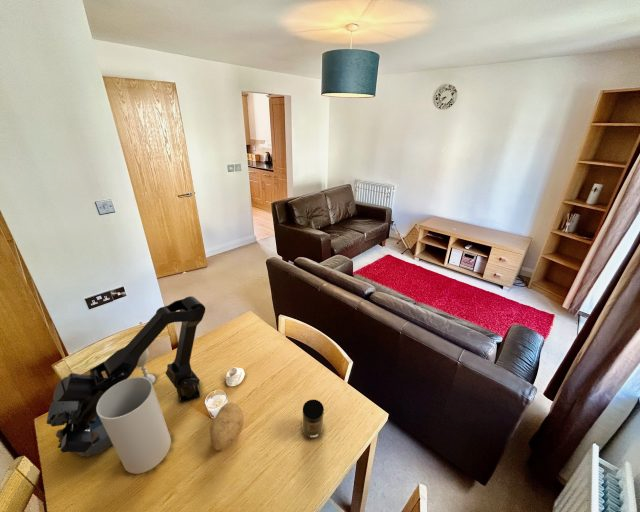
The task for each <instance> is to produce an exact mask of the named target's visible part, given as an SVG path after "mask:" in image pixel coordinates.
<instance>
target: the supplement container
mask: <svg viewBox="0 0 640 512" xmlns="http://www.w3.org/2000/svg"><path fill="white" fill-rule="evenodd" d="M324 411H325V408H324V404H323V403H322V402H321V401H320V400H318V399H309V400H307V401H305V402H304V404H303V406H302V432H303V434H304V435H305V437H306V438H307V439H311V440H314V439H315V440H316V439H318V438H319V437H320V436H321V435H322V433H323V428H324V414H325V412H324Z"/></svg>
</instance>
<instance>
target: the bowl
mask: <svg viewBox="0 0 640 512" xmlns="http://www.w3.org/2000/svg"><path fill="white" fill-rule="evenodd" d="M89 425H90V431H95V432H97V433H98V435H99V439H98V441H97V442H96V443H94V444H93V445H92V446H91V447H90V449H89V450H88V451H86V452H74V453H75V454H76V455H78V456H80V457H91V456H95V455H97V454H99V453H102V452H104V451H105V450H106V449H108V448H110V447H111V446H112V445H113V444H112V442H111V440H110V438H109V436H108V434H107V432H106V430H105V428H104V426H103V424H102V422H101V420H100V418H99V416H98V414H97V415H96V421H95V423H94V424H89Z"/></svg>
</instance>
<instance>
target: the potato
mask: <svg viewBox="0 0 640 512" xmlns="http://www.w3.org/2000/svg"><path fill="white" fill-rule="evenodd" d="M212 420H213V421H212V422H211V424H210V427H209V434H210V442H211V445H212V447H213V448H214V449H215V450H217V451H226V450H227V449H228V448H230V447H231V446H232V445H233V444H234V443H235V442H236V441H237V440H238V438H239V435H240V433H241V431H242V428H243V426H244V413H243V409H242V408H241V407H240V405H239V404H237V403H235V402H226V403H224V404H223V405H222V406H221V407H220V408H219V410H218V412H217V413H216V416H215V417H214V419H212Z"/></svg>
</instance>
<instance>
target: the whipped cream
mask: <svg viewBox="0 0 640 512" xmlns="http://www.w3.org/2000/svg"><path fill="white" fill-rule="evenodd" d="M245 375H246V374H245V371H244V369H243V368H241V367H236V366H233V367H231V368H230V369H229V371H228V372H227V373H226V375H225V384H226V385H227V386H228V387H236V386H239V385H240V384H241V383H242V382H243V380H244V379H245Z"/></svg>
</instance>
